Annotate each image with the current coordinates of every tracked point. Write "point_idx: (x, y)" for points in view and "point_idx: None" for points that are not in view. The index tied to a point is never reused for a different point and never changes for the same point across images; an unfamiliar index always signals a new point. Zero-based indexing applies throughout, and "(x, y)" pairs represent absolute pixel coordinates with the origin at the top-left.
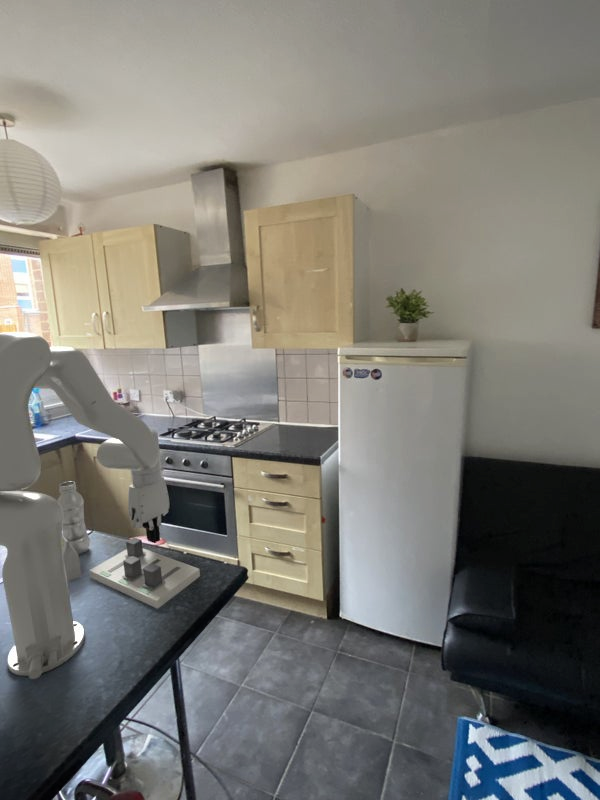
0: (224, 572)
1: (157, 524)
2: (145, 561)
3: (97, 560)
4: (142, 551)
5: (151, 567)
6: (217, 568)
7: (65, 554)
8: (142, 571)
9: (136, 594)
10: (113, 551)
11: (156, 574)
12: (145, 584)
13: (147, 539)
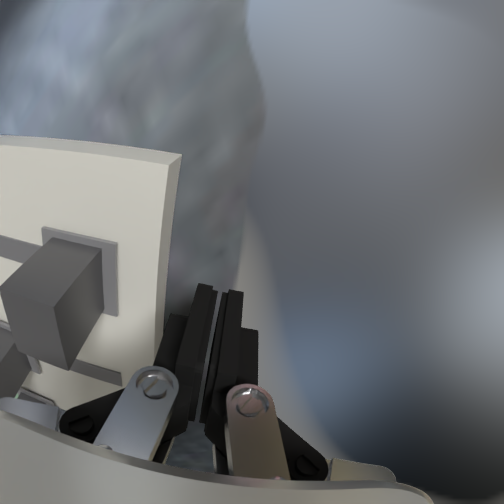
0: (202, 471)
1: (213, 450)
2: None
3: (51, 24)
4: (96, 316)
5: None
6: (210, 463)
7: None
8: (37, 366)
9: None
10: (145, 18)
11: None
12: (21, 393)
13: (198, 284)
